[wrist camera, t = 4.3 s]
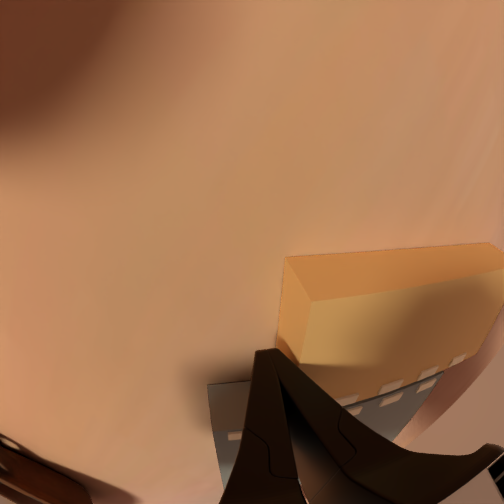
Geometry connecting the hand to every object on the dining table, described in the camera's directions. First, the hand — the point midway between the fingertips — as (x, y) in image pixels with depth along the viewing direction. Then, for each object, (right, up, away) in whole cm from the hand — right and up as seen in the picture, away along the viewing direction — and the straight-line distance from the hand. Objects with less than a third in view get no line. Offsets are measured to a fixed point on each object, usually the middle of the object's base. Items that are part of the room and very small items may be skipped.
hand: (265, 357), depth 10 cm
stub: (+6, +1, +2) cm, 7 cm away
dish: (-25, -20, +8) cm, 33 cm away
